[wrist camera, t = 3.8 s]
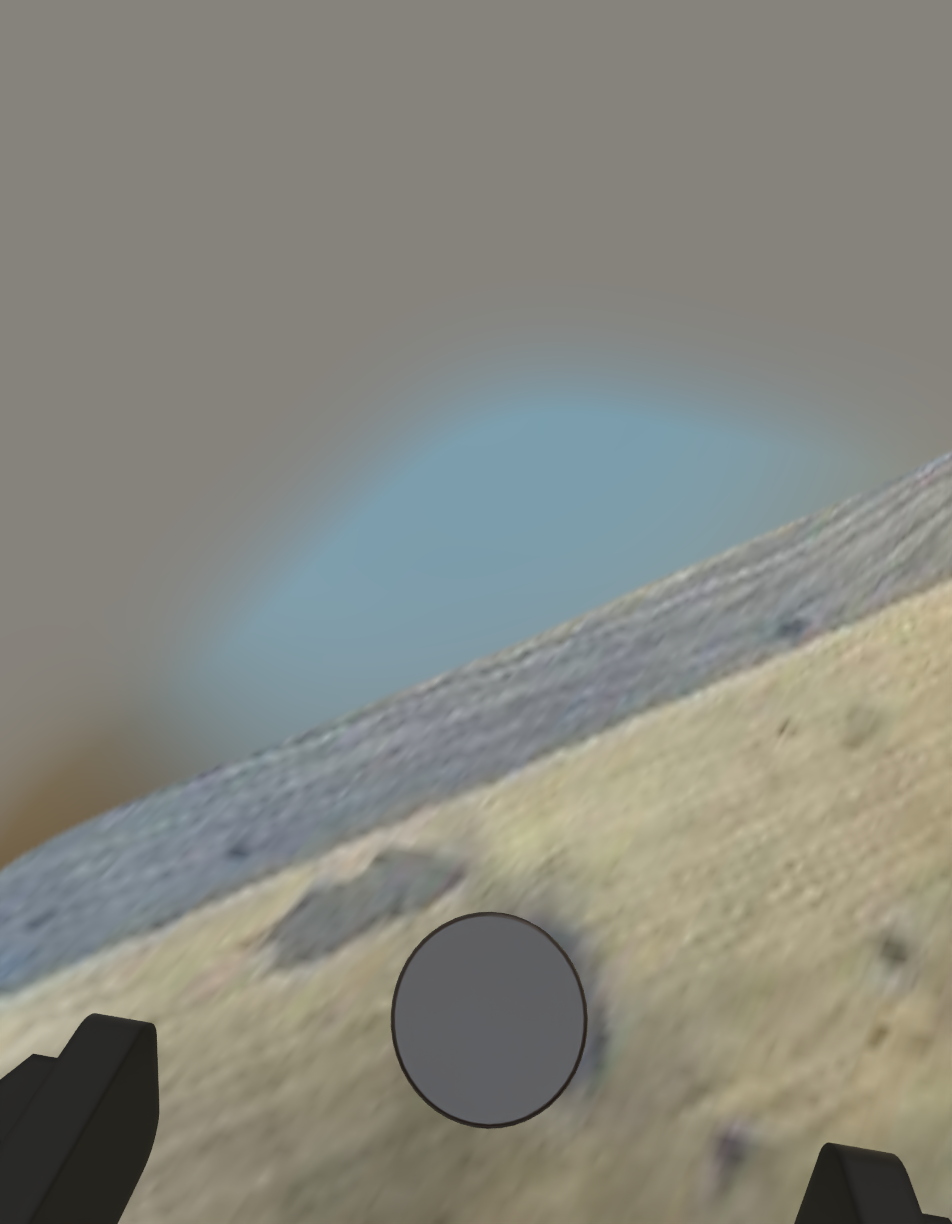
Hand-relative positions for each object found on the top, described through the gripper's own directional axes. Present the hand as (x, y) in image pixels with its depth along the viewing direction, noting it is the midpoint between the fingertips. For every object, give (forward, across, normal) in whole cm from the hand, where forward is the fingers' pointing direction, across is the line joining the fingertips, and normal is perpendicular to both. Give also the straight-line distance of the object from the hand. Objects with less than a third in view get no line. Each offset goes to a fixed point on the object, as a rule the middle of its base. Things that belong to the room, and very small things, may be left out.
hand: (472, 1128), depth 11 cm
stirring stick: (+11, 0, +9) cm, 14 cm away
